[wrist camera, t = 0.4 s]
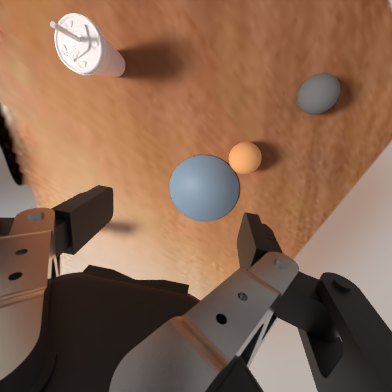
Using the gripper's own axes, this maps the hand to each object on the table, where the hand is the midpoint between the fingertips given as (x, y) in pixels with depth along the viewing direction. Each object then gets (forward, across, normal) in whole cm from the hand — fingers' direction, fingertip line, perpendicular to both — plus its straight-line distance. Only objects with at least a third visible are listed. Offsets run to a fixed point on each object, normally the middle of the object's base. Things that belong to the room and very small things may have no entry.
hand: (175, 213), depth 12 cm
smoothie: (+28, +18, -11) cm, 35 cm away
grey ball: (+25, -16, -11) cm, 31 cm away
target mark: (+27, -1, +8) cm, 29 cm away
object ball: (+25, -7, 0) cm, 26 cm away
